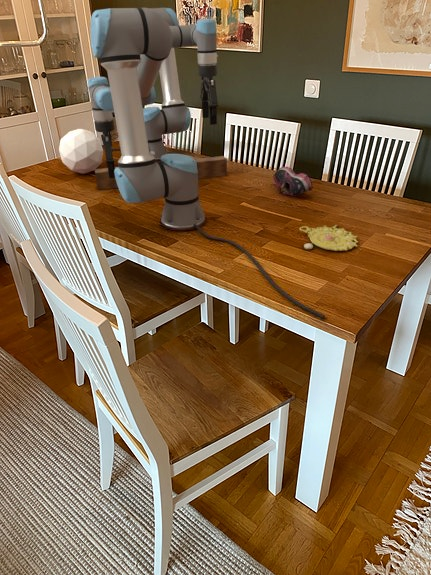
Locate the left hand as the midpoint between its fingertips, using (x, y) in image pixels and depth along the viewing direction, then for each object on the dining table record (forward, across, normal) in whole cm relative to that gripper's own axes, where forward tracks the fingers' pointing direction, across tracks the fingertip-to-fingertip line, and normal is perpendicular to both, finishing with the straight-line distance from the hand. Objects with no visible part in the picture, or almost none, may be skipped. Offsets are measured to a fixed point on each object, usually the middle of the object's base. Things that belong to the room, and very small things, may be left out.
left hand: (209, 121), depth 186 cm
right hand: (+18, 0, +43) cm, 47 cm away
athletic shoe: (+23, -31, -24) cm, 46 cm away
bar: (+23, 0, +22) cm, 32 cm away
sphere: (+23, +24, +55) cm, 64 cm away
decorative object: (+23, -74, -20) cm, 80 cm away
